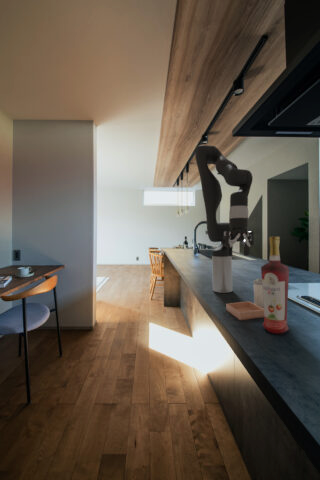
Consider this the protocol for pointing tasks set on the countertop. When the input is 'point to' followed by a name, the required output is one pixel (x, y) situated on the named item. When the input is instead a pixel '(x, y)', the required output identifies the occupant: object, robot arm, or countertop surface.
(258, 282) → the battery cell
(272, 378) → the countertop surface
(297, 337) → the countertop surface
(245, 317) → the dish
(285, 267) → the liquor
